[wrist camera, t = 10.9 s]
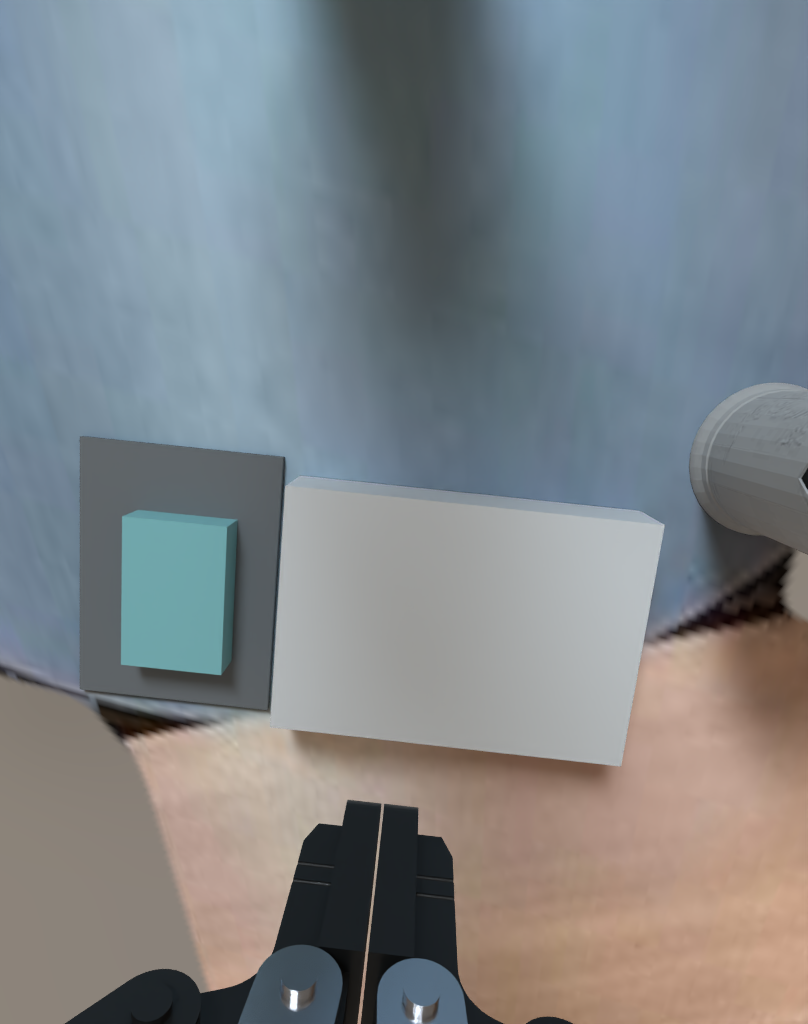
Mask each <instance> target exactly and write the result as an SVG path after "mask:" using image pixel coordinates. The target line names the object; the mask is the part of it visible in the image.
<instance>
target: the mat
mask: <svg viewBox="0 0 808 1024" xmlns="http://www.w3.org/2000/svg"><path fill="white" fill-rule="evenodd" d="M284 459H285V457H280V456H270V455H260V454H251V453H241V452H231V451H221V450H212V449H202V448H192V447H183V446H173V445H163V444H154V443H144V442H134V441H125V440H115V439H105V438H96V437H86V436H82V437H80V689H82V690H91V691H100V692H109V693H118V694H127V695H136V696H145V697H154V698H163V699H172V700H181V701H190V702H199V703H208V704H216V705H225V706H234V707H243V708H252V709H261V710H268V708H269V698H270V682H271V666H272V651H273V635H274V619H275V603H276V587H277V571H278V555H279V539H280V523H281V507H282V491H283V475H284ZM136 510H145V511H155V512H165V513H175V514H185V515H195V516H205V517H215V518H225V519H235V520H238V522H237V545H236V568H235V591H234V614H233V637H232V660H231V662H230V664H229V665H228V666H227V668H226V669H225V671H224V672H223V673H222V675H214V674H205V673H195V672H186V671H176V670H167V669H157V668H148V667H138V666H129V665H121V595H122V516H124V515H127V514H129V513H132V512H134V511H136Z"/></svg>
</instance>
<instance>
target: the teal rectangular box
mask: <svg viewBox="0 0 808 1024" xmlns="http://www.w3.org/2000/svg"><path fill="white" fill-rule="evenodd" d="M237 522H238V520H235V519H225V518H215V517H205V516H195V515H185V514H175V513H165V512H155V511H145V510H136V511H134V512H132V513H129V514H127V515H124V516H122V595H121V665H129V666H138V667H148V668H157V669H167V670H176V671H186V672H195V673H205V674H214V675H222V673H223V672H224V671H225V669H226V668H227V666H228V665H229V664H230V662H231V660H232V637H233V614H234V591H235V568H236V545H237Z"/></svg>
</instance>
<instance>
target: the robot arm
mask: <svg viewBox="0 0 808 1024" xmlns="http://www.w3.org/2000/svg"><path fill="white" fill-rule="evenodd" d="M380 813H381V804H380V803H371V802H362V801H354V800H348V801H347V805H346V810H345V815H344V820H343V825H342V826H337V825H328V824H318V825H317V826H316V827H315V828H314V829H313V831H312V832H311V833H310V834H309V835H308V836H307V837H306V838H305V840H304V842H303V845H302V849H301V853H300V856H299V860H298V865H297V867H296V871H295V874H294V878H293V883H292V885H291V889H290V893H289V896H288V900H287V904H286V907H285V911H284V915H283V918H282V922H281V925H280V929H279V933H278V936H277V940H276V944H275V947H274V950H273V953H272V955H271V956H269V957H268V958H267V959H266V960H265V961H264V963H263V964H262V965H261V967H260V968H259V970H258V972H257V974H255V975H254V976H253V977H251V978H250V979H248V980H246V981H244V982H243V983H240V984H238V985H235V986H232V987H229V988H225V989H220V990H215V991H210V992H205V993H200V992H199V989H198V987H197V985H196V984H195V982H194V981H193V980H192V979H191V978H190V977H189V976H187V975H186V974H184V973H182V972H179V971H177V970H171V969H158V970H152V971H149V972H145V973H143V974H140V975H138V976H136V977H134V978H133V979H131V980H129V981H128V982H126V983H125V984H123V985H122V986H120V987H119V988H117V989H116V990H115V991H113V992H111V993H110V994H108V995H107V996H105V997H104V998H102V999H101V1000H99V1001H98V1002H96V1003H95V1004H93V1005H92V1006H91V1007H89V1008H87V1009H86V1010H85V1011H83V1012H81V1013H80V1014H78V1015H77V1016H75V1017H74V1018H73V1019H71V1020H70V1021H68V1022H67V1023H65V1024H357V1022H358V1013H359V1004H360V996H361V987H362V978H363V969H364V960H365V952H366V943H367V934H368V925H369V916H370V907H371V899H372V890H373V880H374V871H375V861H376V852H377V842H378V832H379V823H380ZM361 1024H503V1023H501V1022H499V1021H497V1020H495V1019H493V1018H491V1017H489V1016H488V1015H486V1014H485V1013H484V1012H482V1011H481V1010H480V1009H479V1008H478V1007H477V1006H475V1005H474V1003H473V1002H472V1001H471V1000H470V999H469V997H468V996H467V994H466V993H465V991H464V989H463V987H462V985H461V982H460V979H459V975H458V967H457V945H456V923H455V902H454V883H453V858H452V855H451V854H450V852H449V850H448V848H447V846H446V845H445V843H444V841H443V839H442V837H434V836H425V835H418V808H416V807H408V806H399V805H390V804H384V813H383V822H382V831H381V841H380V850H379V859H378V868H377V878H376V887H375V896H374V905H373V915H372V924H371V933H370V942H369V952H368V961H367V971H366V980H365V990H364V1000H363V1009H362V1019H361ZM526 1024H573V1023H571V1022H568V1021H566V1020H563V1019H560V1018H556V1017H539V1018H536V1019H533V1020H531V1021H529V1022H528V1023H526Z"/></svg>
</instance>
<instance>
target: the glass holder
mask: <svg viewBox="0 0 808 1024" xmlns="http://www.w3.org/2000/svg"><path fill="white" fill-rule="evenodd" d="M689 471H690V480H691V484H692V487H693V491H694V493H695V495H696V497H697V499H698V501H699V503H700V505H701V506H702V507H703V509H704V510H705V511H706V512H707V514H708V515H710V516H711V517H712V518H713V519H714V520H715V521H716V522H718V523H720V524H721V525H723V526H725V527H726V528H728V529H731V530H734V531H736V532H739V533H744V534H749V535H764V536H766V537H769V538H771V539H773V540H776V541H778V542H780V543H782V544H785V545H787V546H789V547H792V548H794V549H796V550H798V551H801V552H803V553H805V554H808V389H805V388H803V387H800V386H797V385H792V384H787V383H765V384H759V385H754V386H751V387H748V388H745V389H743V390H740V391H739V392H737V393H735V394H733V395H731V396H729V397H728V398H727V399H725V400H724V401H723V402H721V403H720V404H719V405H717V406H716V408H715V409H714V410H713V411H712V412H711V413H710V414H709V415H708V416H707V418H706V419H705V420H704V422H703V423H702V425H701V426H700V428H699V430H698V432H697V435H696V437H695V439H694V442H693V445H692V449H691V453H690V463H689Z"/></svg>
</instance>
